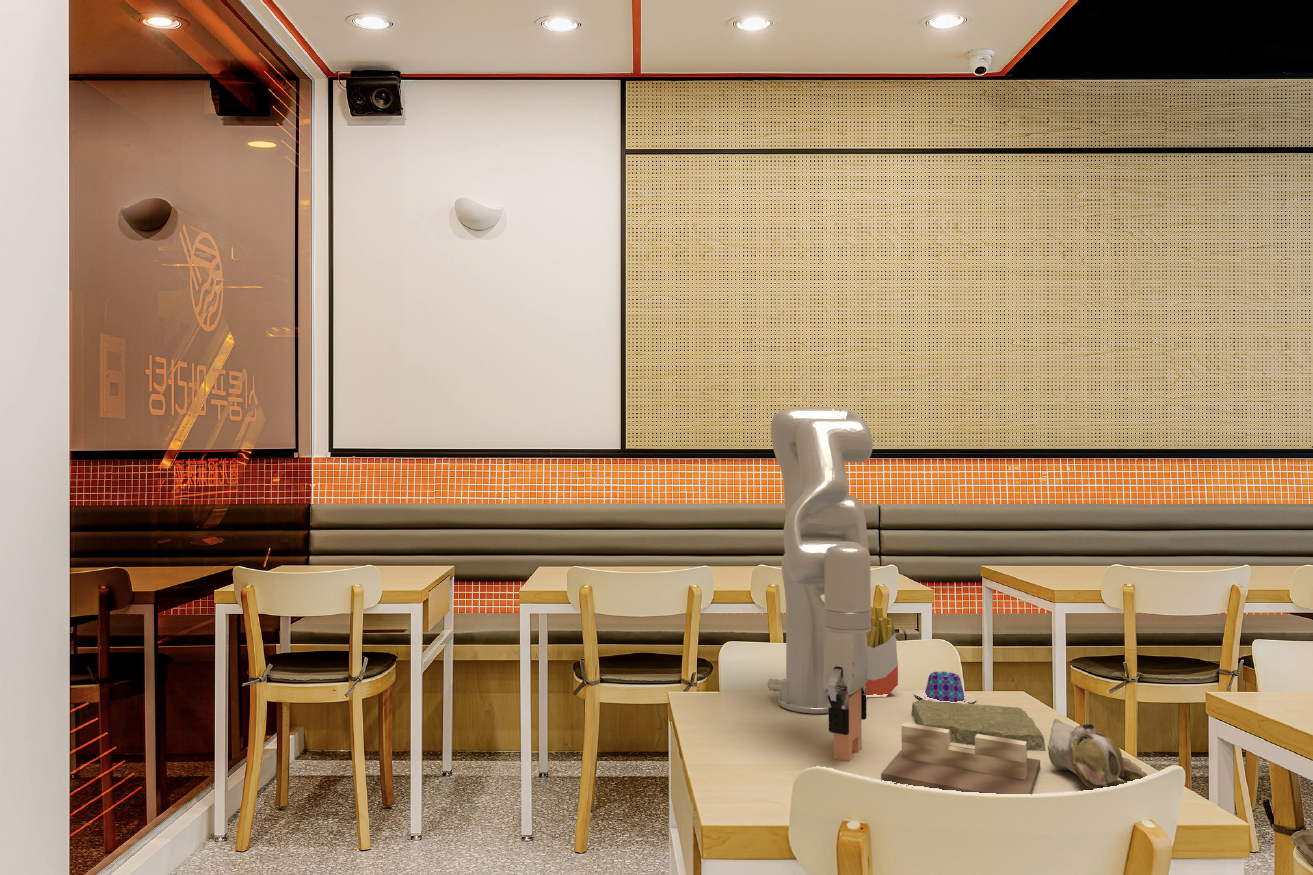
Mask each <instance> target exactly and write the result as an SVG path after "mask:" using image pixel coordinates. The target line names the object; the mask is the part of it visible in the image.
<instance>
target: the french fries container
mask: <svg viewBox="0 0 1313 875" xmlns="http://www.w3.org/2000/svg"><path fill="white" fill-rule="evenodd" d="M883 610H884V609H883V607H882V606H875V607H871V631H870V632H866V637H867V653H868V677H867V682H866V684H865V686H866V690H867V691H866V695H873V694H877V695H883V694H889V695H890V694H891V693H892V692H893V691H894V690H895V688H896V687H897V686H898V685H899V663H898V650H897V649H898V648H897V638H896V630H895V626H894V623H893V622H892V621H893V619H892V618H889V617H887V616H885V617H884V611H883Z"/></svg>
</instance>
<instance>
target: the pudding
mask: <svg viewBox="0 0 1313 875" xmlns="http://www.w3.org/2000/svg"><path fill="white" fill-rule="evenodd" d="M915 693H926V695H927V697H929V698H933V699H937V700H939V701H950V702H957V701H963V700H964V697H965V696H964V693H965V691H964V688H963V684H962V680H961V677H960V675H959V674H956V673H954V672H951V671H950V672H949V671H933V672H931V673H930V674H929V676H928V679H927V683H926V687H925V688H922V689H917V690H916V691H914V694H915ZM967 695H971V694H970V693H968V694H967ZM969 697H972V698H973V699H974V700H973V702H970V703H965V704H973V703H974V702H976V700H977V698H976V697H975V696H974V695H972V696H969ZM917 698H919V697H917ZM919 699H920V698H919ZM922 700H924V699H922Z"/></svg>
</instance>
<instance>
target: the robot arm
mask: <svg viewBox="0 0 1313 875" xmlns="http://www.w3.org/2000/svg"><path fill="white" fill-rule="evenodd" d="M872 436H873V435H872V432H871V429H870V426H869V425H868V423H867V422H866V420H865V419H864V418H863V417H861V416H860V414H858V413H857V412H855V411H854V410H853V409H849V408H843V407H841V408H839V407H838V408H837V407H836V408H835V407H832V408H830V407H792V408H786V409H782V410H780V411H778V412H776V413H775V414H774V415H773V417H772V419H771V424H770V438H771V444H772V448H773V452H774V455H775V458H776V460H777V463H778V466H779V468H780V472H781V475H782V481H783V495H784V496H783V498H784V510H785V511H784V513H785V521H784V524H783V525H784V526H783V546H784V548H783V549H784V553H783V556H782V559H781V575H782V582H783V588H784V598H785V627H786V628H785V630H786V631H785V632H786V634H785V635H786V636H785V640H786V641H785V644H786V645H785V649H786V651H785V652H786V655H785V657H786V658H785V662H786V663H785V664H786V665H785V666H786V667H785V669H786V671H785V679H784V678H783V680H780V679H776V678H769V679H768V680H767V687H768V690H769V691H774V692H776V691H777V692H779V693H780V694H781V695H779V696H778V701H777V703H778V705H779V706H780V707H781V706H782V707H781V708H784V709H785V708H786V709H785V710H788V711H791V710H792V711H791V712H797V713H801V712H802V713H803V714H814V715H815V714H819V715H820V714H828V732H829V733H831V734H834V733H837V734H843V735H847V734H849V709H847V704H848V699H849V695H851V694H853V693H855V692H856V691H858V690H859V689H861V721H864V720H866V719H867V698H866V691H867V690H866V686H865V684H866V682H867V677H868V653H867V637H866V632H870V631H871V606H872V603H871V601H872V600H871V597H872V596H871V592H872V590H871V589H872V587H871V586H872V585H871V584H872V583H871V581H872V580H871V574H872V573H871V554H870V550H869V540H868V531H867V522H866V521H867V520H866V514H865V509H864V506H863V504H862V503H861V501H860V500H859V499H858V497H856V496H854V495H852V494H848V493H849V492H850V491H849V490H850V489H849V488H850V487H849V483H848V477H847V476H848V475H847V472H846V471H847V470H846V464H845V463H864V462H866V461H868V460H869V459H870V458H871V456H872V452H873V444H874V443H873V437H872ZM822 596H824V600H823V599H822ZM840 695H844V696H843V700H842V698H841V696H840ZM802 713H801V714H802Z"/></svg>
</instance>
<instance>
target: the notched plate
mask: <svg viewBox="0 0 1313 875" xmlns="http://www.w3.org/2000/svg"><path fill="white" fill-rule="evenodd" d="M840 696H841V698H842V700H843V696H844V695H840ZM847 709H849V734H847V735H843V734H837V733H833V759H834V760H839V761H846V762H850V761H851V760H852V759H853V752H856V753H859V752H860V751H861V750H862V719H861V689H859V690H858V691H856V692H855V693H853V694H851V695H849V699H848V704H847Z"/></svg>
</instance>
